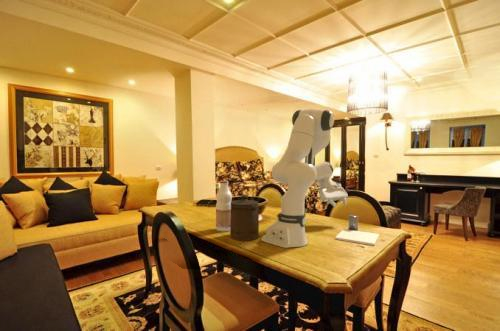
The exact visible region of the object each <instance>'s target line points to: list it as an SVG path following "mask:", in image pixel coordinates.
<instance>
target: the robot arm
mask: <svg viewBox="0 0 500 331" xmlns="http://www.w3.org/2000/svg"><path fill="white" fill-rule="evenodd" d="M291 123H292V129H291V133H290V137H289V140H288V144H287V147H286V150H285V151H284V153H283V155H282V156H281V158H280V159H279V161H278V162H277V163H276V164H274V165H273V166H272V168H271V178H272V179H273V181H275V182H278V183H280V184H281V185H288V188H287V190H286V192H285V193H283V195H282V196H281V198H280V200H281V201H280V202H281V203H280V204H281V205H280V206H281V208H280V212H279V213H278V214H276V218H277V220H276V221H274V222H272V224H270V225H269V226H268V227H267V229H266V232H265V235H263V236H262V237H261V239H260V240H261V242H264V243H267V244H271V245H274V246H277V247H280V248H283V249H285V248H286V249H288V248H300V247H301V248H302V247H304V246H306V245H308V240H307V236H306V227H305V226H306V215H305V214H304V209H305V204H306V203H305V199H306V196H307V192H308V190H309V189H310V187H312V185H313V184H315V183H317V185H318V186H319V188H318V189H317V193H318V196H319V197H320V199H321V200H322V202H325V203H326V202H328V203H329V204H330V205H331V206H332V207H333V208H334V207H336V206H337V203H336V202H335V201H342V205H343V206H347V205H348V202H347V198H348V197H349V195H348V192H347V191H346V190H345V189H344V187H342V183H338V182H336V181H333V180H332V179H331V177H332V175H333V173H334V168H333V165H332V164H331V163H330V162H328V161H323V162H320V163H317V164H315V165H314V162H315V157H317V156H316V155H318V154H319V153H320V152H321V151H322V150H325V148H327V147H328V145H329V144H330V142H331V141H330V140H331V129H332V128H333V127H334V123H335V115H334V113H333V112H332V111H330V110H328V109H327V110H326V109H325V110H323V109H312V108H310V109H308V108H307V109H298V110H296V111H294V113H293V115H292V119H291ZM303 160H304V162H303Z"/></svg>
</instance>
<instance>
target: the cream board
mask: <svg viewBox="0 0 500 331" xmlns="http://www.w3.org/2000/svg"><path fill="white" fill-rule="evenodd" d="M334 237H335V238H334V239H335V240H337V241H338V240H339V241H344V242H351V243H356V244H363V245H368V246H376V244H377V241H378V240H379V237H380V234H379V233H374V232H373V233H372V232H366V231H361V230H358V231H354V230H349V229H346V228H344V229H342V230H341V231H340V232H339V233H338V234H337V235H336V236H334Z"/></svg>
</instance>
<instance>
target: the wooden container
mask: <svg viewBox="0 0 500 331" xmlns="http://www.w3.org/2000/svg"><path fill="white" fill-rule="evenodd" d="M240 197H241V199H238V200H231V217H230V232H229V233H230V238H231V239H233V240H235V241H242V242H243V241H246V242H247V241H254V240H256V239H258V238H259V237H260V236H259V234H260V233H259V232H260V231H259V229H260V226H259V225H260V222H259V201H257V200H253V199H248V198H249V196H248V195H247V194H242V195H241V196H240Z"/></svg>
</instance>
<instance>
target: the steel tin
mask: <svg viewBox="0 0 500 331" xmlns="http://www.w3.org/2000/svg"><path fill="white" fill-rule="evenodd" d="M348 230H354V231H359V215H354V214H349V215H348Z"/></svg>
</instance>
